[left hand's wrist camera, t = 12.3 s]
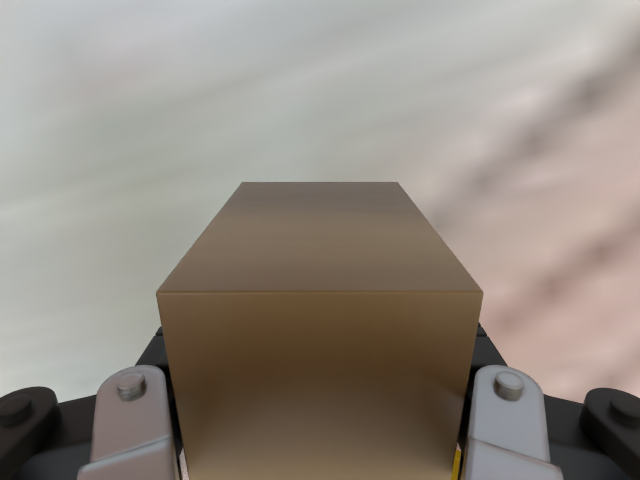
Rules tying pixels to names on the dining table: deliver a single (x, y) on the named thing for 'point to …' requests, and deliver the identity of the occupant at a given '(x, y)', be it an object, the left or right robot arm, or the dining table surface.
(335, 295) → the bar
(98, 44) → the dining table surface
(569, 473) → the left robot arm
